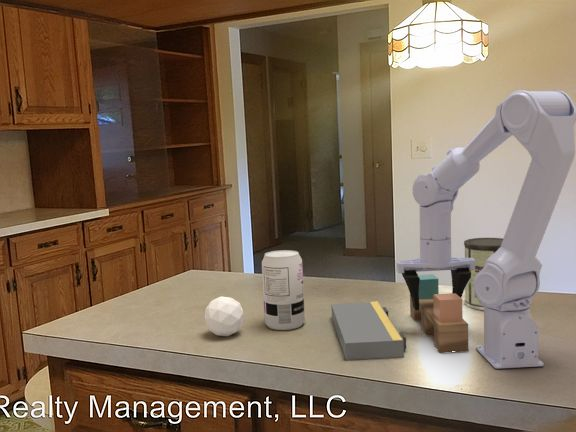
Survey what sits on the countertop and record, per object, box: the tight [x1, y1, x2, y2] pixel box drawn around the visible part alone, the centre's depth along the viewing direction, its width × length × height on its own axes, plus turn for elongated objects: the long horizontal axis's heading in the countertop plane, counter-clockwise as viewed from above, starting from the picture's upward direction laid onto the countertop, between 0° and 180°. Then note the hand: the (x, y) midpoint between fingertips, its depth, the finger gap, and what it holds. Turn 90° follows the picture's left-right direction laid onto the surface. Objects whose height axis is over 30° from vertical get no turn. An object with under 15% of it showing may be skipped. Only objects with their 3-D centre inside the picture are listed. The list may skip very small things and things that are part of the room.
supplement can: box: [261, 249, 306, 331], centre depth 121 cm, size 8×8×15 cm
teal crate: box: [418, 273, 440, 299], centre depth 120 cm, size 4×4×4 cm
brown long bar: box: [409, 294, 469, 353], centre depth 113 cm, size 22×5×5 cm, turn 1°
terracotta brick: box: [433, 292, 464, 322], centre depth 105 cm, size 4×4×4 cm
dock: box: [330, 300, 407, 361], centre depth 113 cm, size 24×11×3 cm, turn 1°
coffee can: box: [463, 237, 504, 311], centre depth 129 cm, size 10×10×14 cm
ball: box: [204, 295, 245, 337], centre depth 117 cm, size 8×8×8 cm
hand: (435, 307), depth 113 cm, fingers open, 7 cm apart
